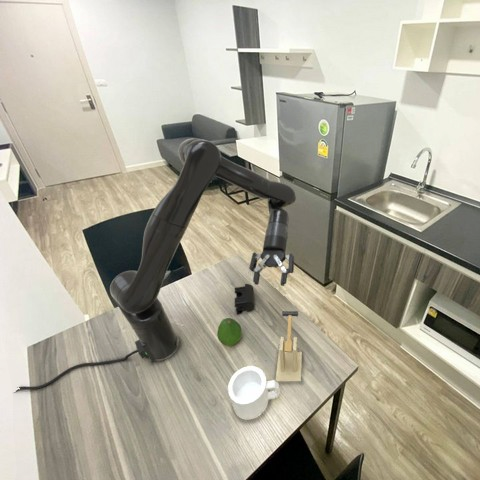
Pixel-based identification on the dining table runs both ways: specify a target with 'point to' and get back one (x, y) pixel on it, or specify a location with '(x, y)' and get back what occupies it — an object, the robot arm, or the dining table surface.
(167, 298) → the dining table surface
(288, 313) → the lever
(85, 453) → the dining table surface
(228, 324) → the avocado
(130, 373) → the dining table surface
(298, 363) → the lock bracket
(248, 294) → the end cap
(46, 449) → the dining table surface
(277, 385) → the mug
